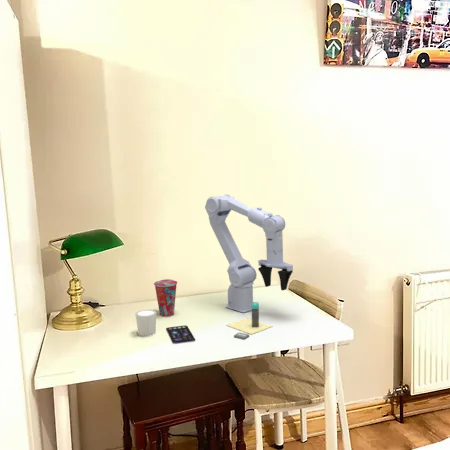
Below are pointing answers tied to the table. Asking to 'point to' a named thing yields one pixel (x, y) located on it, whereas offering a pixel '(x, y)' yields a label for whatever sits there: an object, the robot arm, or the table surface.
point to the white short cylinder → (146, 322)
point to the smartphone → (180, 334)
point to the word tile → (241, 336)
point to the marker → (255, 314)
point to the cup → (166, 296)
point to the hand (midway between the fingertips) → (275, 287)
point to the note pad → (248, 326)
